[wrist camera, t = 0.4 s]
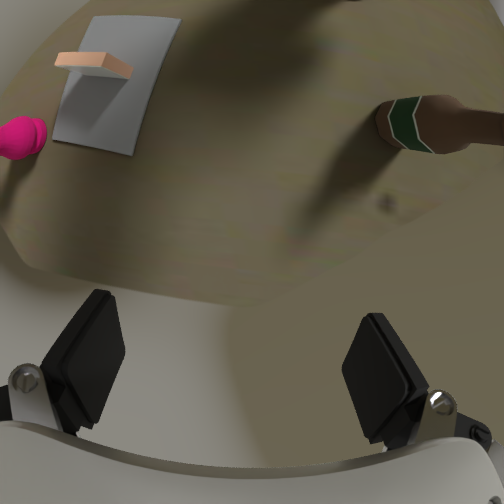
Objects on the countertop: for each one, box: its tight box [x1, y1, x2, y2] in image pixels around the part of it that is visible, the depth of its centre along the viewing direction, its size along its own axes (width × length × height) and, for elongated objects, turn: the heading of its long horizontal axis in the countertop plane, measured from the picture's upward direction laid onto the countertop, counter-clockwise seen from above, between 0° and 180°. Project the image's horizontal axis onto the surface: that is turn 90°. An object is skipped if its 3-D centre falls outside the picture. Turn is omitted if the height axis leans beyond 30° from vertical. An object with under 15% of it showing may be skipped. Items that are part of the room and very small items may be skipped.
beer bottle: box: [375, 95, 504, 154], centre depth 23 cm, size 8×8×24 cm
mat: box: [52, 15, 182, 156], centre depth 29 cm, size 22×16×1 cm
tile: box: [55, 52, 134, 80], centre depth 24 cm, size 2×8×9 cm, turn 71°
